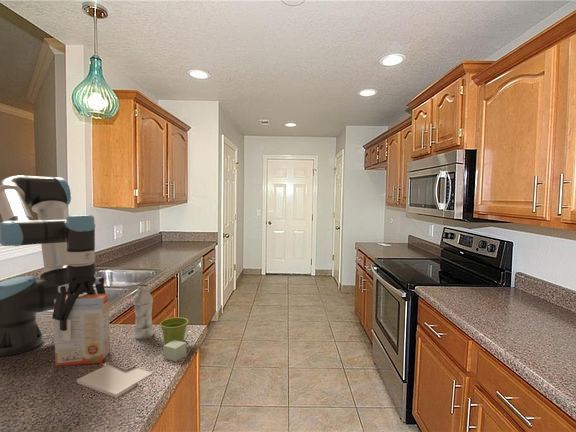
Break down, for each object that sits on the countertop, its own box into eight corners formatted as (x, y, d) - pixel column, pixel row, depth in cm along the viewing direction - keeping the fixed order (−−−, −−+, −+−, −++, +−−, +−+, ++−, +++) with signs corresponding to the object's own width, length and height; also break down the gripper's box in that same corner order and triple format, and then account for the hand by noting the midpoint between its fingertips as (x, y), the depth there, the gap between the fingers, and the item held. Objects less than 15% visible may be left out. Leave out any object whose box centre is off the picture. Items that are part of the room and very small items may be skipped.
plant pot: (193, 346, 118) (193, 322, 117) (168, 355, 111) (168, 329, 110) (179, 338, 124) (179, 315, 124) (155, 346, 117) (155, 322, 117)
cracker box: (110, 355, 110) (109, 292, 109) (103, 364, 104) (102, 297, 103) (64, 357, 108) (63, 293, 107) (54, 366, 102) (53, 299, 102)
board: (76, 383, 93) (76, 379, 93) (115, 364, 104) (115, 361, 104) (116, 398, 87) (116, 394, 87) (152, 376, 97) (152, 372, 97)
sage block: (163, 360, 107) (163, 345, 107) (174, 354, 112) (174, 339, 111) (175, 364, 105) (175, 348, 105) (186, 357, 109) (186, 342, 109)
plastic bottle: (157, 338, 124) (157, 285, 123) (140, 345, 118) (140, 289, 117) (146, 334, 127) (146, 282, 126) (130, 340, 122) (129, 286, 121)
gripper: (51, 271, 93) (53, 350, 95) (119, 259, 113) (120, 324, 114) (36, 268, 97) (37, 345, 98) (105, 257, 116) (105, 321, 117)
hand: (82, 334), depth 106 cm, fingers open, 9 cm apart
